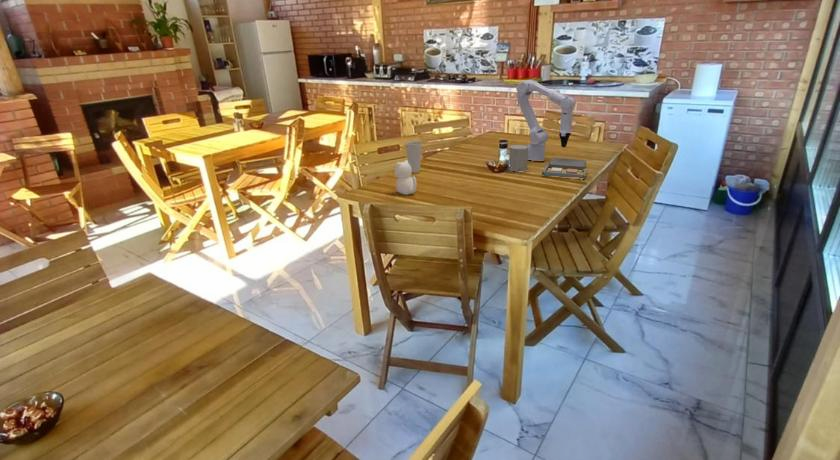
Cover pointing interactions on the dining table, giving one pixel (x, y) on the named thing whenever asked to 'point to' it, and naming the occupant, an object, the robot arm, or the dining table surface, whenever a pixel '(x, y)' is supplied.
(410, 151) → the cup
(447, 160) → the dining table surface
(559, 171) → the cream tile
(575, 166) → the plate
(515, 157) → the grey canister
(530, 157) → the robot arm
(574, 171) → the terracotta tile
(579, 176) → the tray
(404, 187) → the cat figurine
